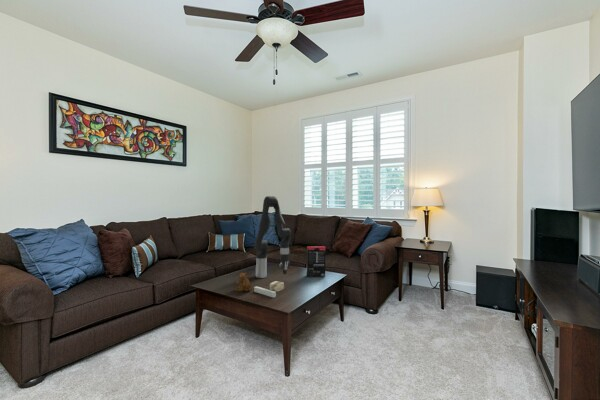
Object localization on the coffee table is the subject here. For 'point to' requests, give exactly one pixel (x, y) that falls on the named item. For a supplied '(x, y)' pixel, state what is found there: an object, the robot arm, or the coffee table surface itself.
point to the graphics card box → (316, 261)
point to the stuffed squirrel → (243, 283)
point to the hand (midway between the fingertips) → (284, 274)
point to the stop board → (265, 291)
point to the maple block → (276, 286)
